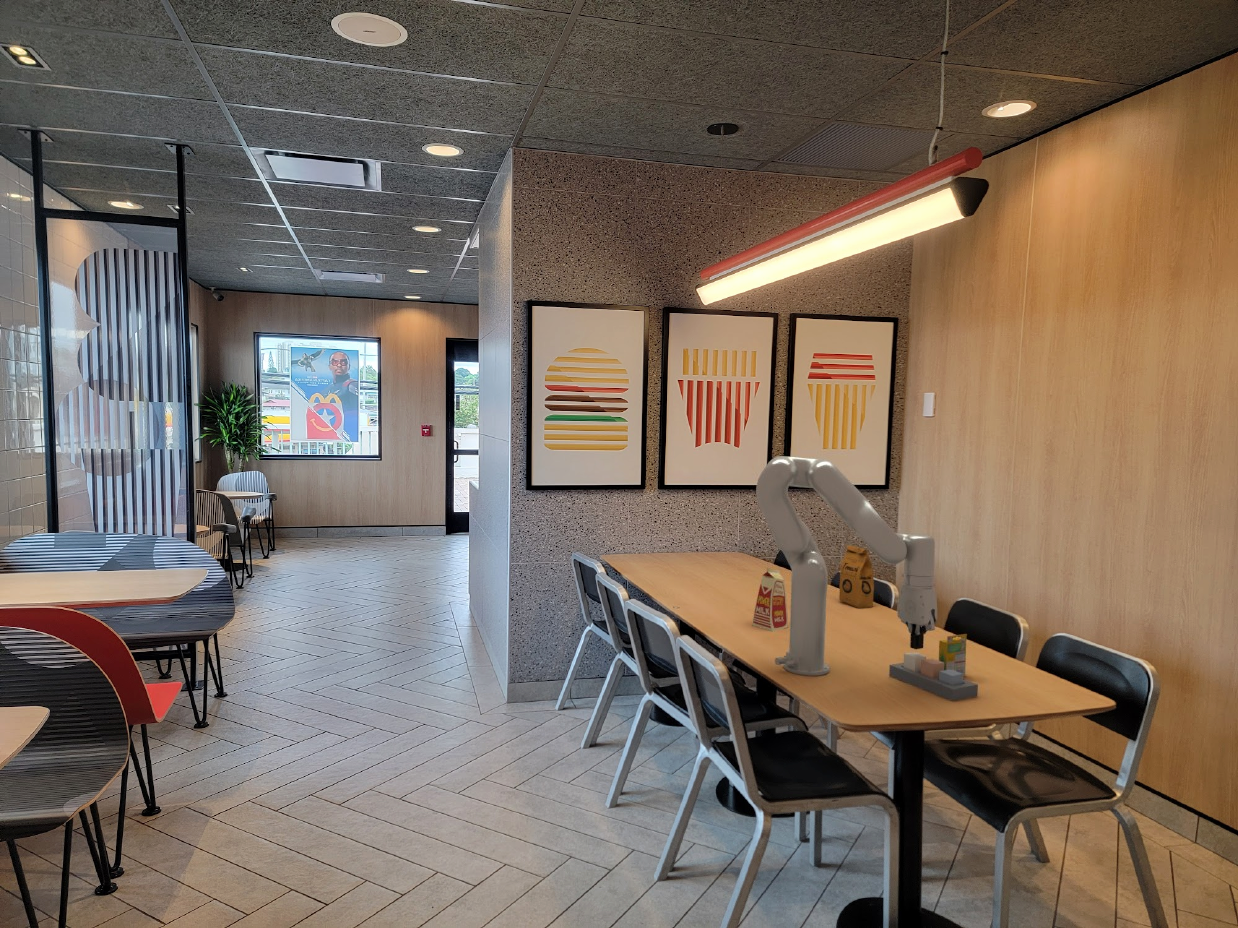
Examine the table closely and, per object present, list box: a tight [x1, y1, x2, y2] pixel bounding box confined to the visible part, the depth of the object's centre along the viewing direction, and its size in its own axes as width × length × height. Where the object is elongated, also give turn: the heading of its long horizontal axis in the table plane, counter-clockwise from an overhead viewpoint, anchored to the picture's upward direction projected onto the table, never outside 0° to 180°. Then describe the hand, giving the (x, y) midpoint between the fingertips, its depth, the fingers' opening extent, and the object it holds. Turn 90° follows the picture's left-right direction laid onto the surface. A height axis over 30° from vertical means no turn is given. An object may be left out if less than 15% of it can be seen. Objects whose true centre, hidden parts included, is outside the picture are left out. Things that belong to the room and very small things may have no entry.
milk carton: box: [751, 567, 789, 632], centre depth 265 cm, size 9×9×20 cm
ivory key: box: [903, 651, 927, 672], centre depth 214 cm, size 4×4×4 cm
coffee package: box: [838, 544, 875, 609], centre depth 299 cm, size 10×12×22 cm
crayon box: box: [938, 633, 968, 677], centre depth 217 cm, size 7×3×12 cm, turn 113°
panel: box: [888, 662, 979, 702], centre depth 208 cm, size 9×21×3 cm, turn 26°
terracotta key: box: [921, 657, 944, 678], centre depth 208 cm, size 4×4×4 cm
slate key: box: [939, 669, 964, 686], centre depth 203 cm, size 4×4×4 cm
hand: (916, 647), depth 213 cm, fingers closed
